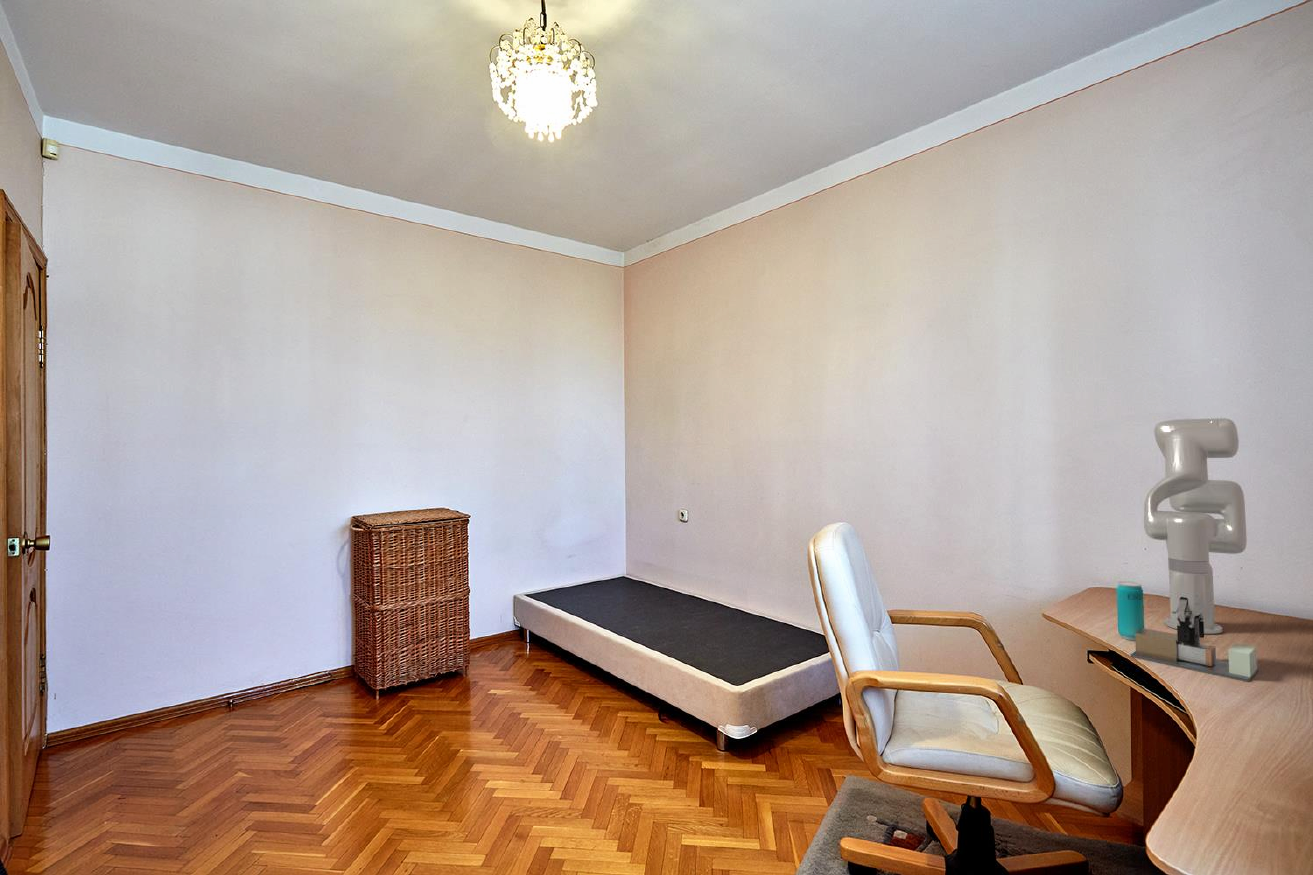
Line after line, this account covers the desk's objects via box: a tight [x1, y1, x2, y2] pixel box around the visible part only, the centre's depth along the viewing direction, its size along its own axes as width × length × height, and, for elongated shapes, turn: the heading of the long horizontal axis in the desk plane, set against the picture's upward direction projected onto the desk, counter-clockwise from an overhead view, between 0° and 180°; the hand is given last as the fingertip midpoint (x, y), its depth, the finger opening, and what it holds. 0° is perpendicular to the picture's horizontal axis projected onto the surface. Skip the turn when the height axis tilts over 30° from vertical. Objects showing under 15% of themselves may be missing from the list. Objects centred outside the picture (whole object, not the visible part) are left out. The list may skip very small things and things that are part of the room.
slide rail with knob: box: [1130, 627, 1259, 683], centre depth 148 cm, size 11×22×6 cm, turn 37°
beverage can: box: [1116, 581, 1145, 642], centre depth 167 cm, size 6×6×15 cm
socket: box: [1227, 643, 1258, 677], centre depth 141 cm, size 7×4×5 cm, turn 127°
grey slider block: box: [1177, 617, 1217, 666], centre depth 150 cm, size 4×14×10 cm, turn 37°
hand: (1191, 639), depth 148 cm, fingers open, 7 cm apart
